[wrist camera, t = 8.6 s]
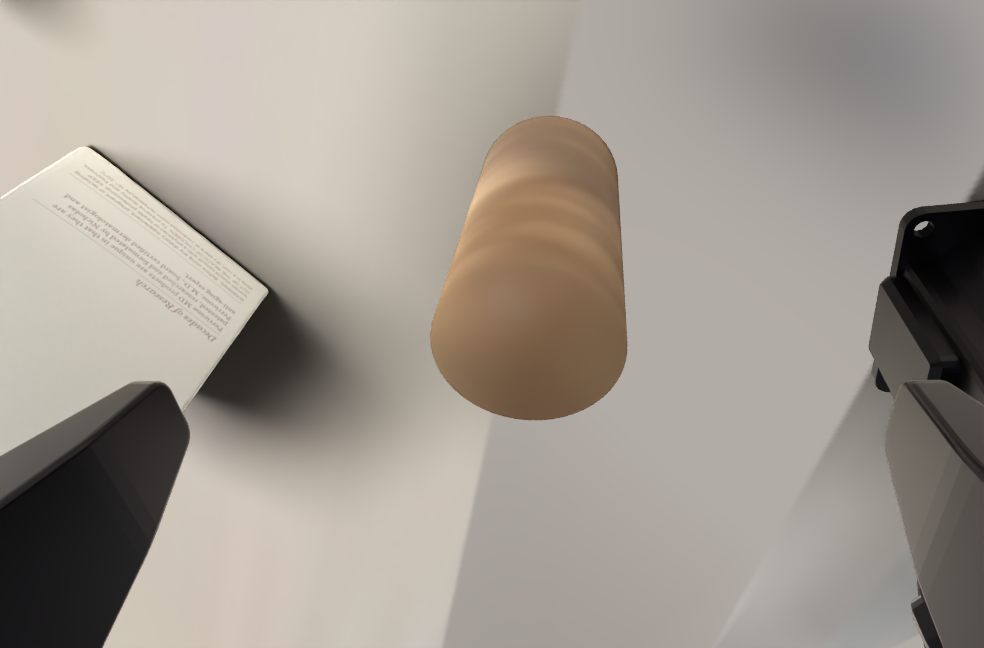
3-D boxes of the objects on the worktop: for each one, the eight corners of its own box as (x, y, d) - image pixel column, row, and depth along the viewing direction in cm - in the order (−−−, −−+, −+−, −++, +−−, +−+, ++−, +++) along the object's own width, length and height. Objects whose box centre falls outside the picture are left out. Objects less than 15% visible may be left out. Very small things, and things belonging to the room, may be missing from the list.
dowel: (613, 107, 19) (620, 255, 13) (621, 236, 21) (632, 416, 15) (470, 125, 20) (410, 272, 13) (493, 247, 22) (451, 423, 16)
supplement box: (85, 134, 22) (-373, 416, 11) (276, 289, 24) (43, 631, 14) (-3, 266, 25) (-411, 570, 15) (172, 389, 28) (-74, 719, 18)
